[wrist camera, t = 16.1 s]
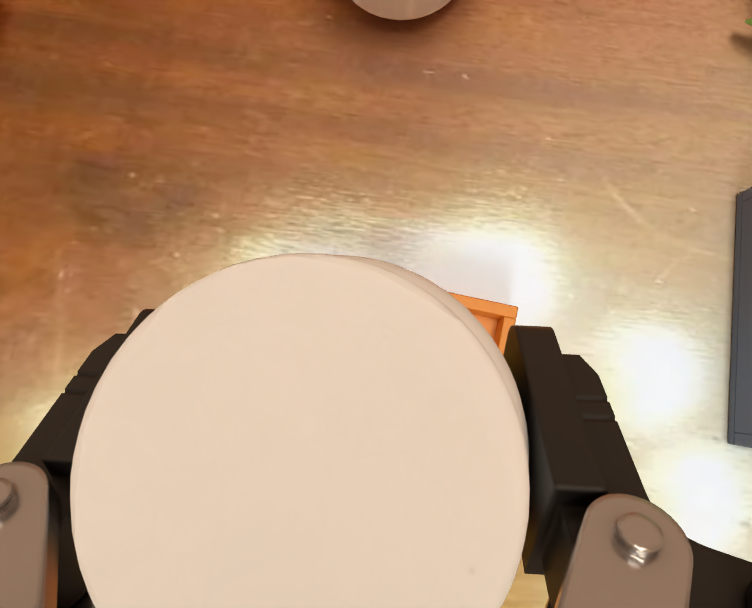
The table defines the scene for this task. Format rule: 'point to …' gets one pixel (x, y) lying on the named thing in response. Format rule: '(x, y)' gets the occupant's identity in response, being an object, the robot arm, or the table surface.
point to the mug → (401, 8)
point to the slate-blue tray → (742, 328)
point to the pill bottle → (303, 447)
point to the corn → (749, 21)
